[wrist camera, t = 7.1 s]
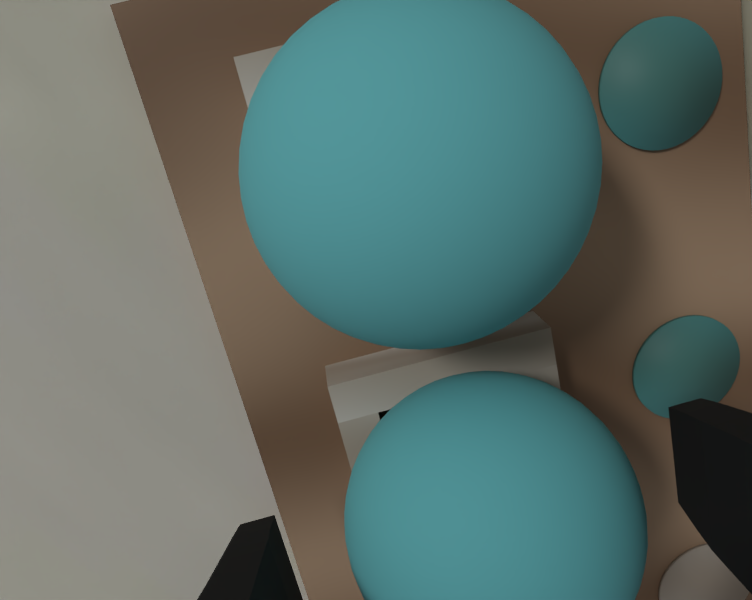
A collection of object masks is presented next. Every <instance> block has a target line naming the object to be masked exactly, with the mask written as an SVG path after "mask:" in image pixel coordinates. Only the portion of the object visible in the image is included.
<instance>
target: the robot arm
mask: <svg viewBox="0 0 752 600" xmlns="http://www.w3.org/2000/svg"><path fill="white" fill-rule="evenodd" d="M668 409H669V419H670V428H671V438H672V448H673V457H674V467H675V477H676V486H677V496H678V503H679V504H680V506H681V507H682V509H683V510H684V512H685V513H686V515H687V516H688V518H689V519H690V521H691V522H692V524H693V525H694V526H695V528H696V529H697V531H698V532H699V533H700V535H701V536H702V538H703V539H704V540H705V542H706V543H707V544H708V546H709V547H710V548H711V550H712V551H713V552H714V553H715V554H716V556H717V557H718V558H719V559H720V560H721V561H722V562H723V563H724V565H725V566H726V567H727V568H728V569H729V570H730V571H731V572H732V573H733V574H734V576H735V577H736V578H737V579H738V580H739V581H740V582H741V583H742V584H743V585H744V587H745V588H746V589H747V590H748V591H749V592H750V593H751V594H752V413H750V412H747V411H744V410H741V409H737V408H734V407H731V406H728V405H725V404H721V403H718V402H714V401H710V400H706V399H702V398H700V399H696V400H692V401H689V402H685V403H681V404H678V405H674V406H671V407H668ZM197 600H303V599H302V596H301V593H300V590H299V587H298V584H297V581H296V578H295V575H294V572H293V569H292V566H291V563H290V560H289V557H288V554H287V551H286V548H285V546H284V543H283V540H282V537H281V534H280V531H279V528H278V525H277V522H276V519H275V516H274V515H273V516H270V517H266V518H263V519H259V520H255V521H252V522H248V523H244V524H241V525H240V526H239V527H238V529H237V531H236V532H235V534H234V536H233V537H232V539H231V541H230V543H229V545H228V546H227V548H226V550H225V552H224V554H223V556H222V557H221V559H220V561H219V563H218V565H217V566H216V568H215V570H214V572H213V574H212V575H211V577H210V579H209V581H208V582H207V584H206V586H205V588H204V589H203V591H202V593H201V594H200V596H199V598H198V599H197Z"/></svg>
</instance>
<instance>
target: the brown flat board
mask: <svg viewBox="0 0 752 600" xmlns="http://www.w3.org/2000/svg"><path fill="white" fill-rule="evenodd" d="M337 1H339V0H129V1H125V2H120V3H116V4H112V5H110V6H111V9H112V12H113V15H114V18H115V21H116V24H117V27H118V30H119V33H120V36H121V39H122V42H123V45H124V48H125V51H126V54H127V57H128V60H129V63H130V66H131V69H132V72H133V75H134V78H135V81H136V84H137V87H138V90H139V93H140V96H141V99H142V102H143V105H144V108H145V111H146V114H147V117H148V120H149V123H150V126H151V129H152V132H153V134H154V137H155V140H156V143H157V146H158V149H159V152H160V155H161V158H162V161H163V164H164V167H165V170H166V173H167V176H168V179H169V182H170V185H171V188H172V191H173V194H174V197H175V200H176V203H177V206H178V209H179V212H180V215H181V218H182V221H183V224H184V227H185V230H186V233H187V236H188V239H189V242H190V245H191V248H192V251H193V254H194V257H195V260H196V263H197V266H198V269H199V272H200V275H201V278H202V281H203V284H204V287H205V290H206V293H207V296H208V299H209V302H210V305H211V308H212V311H213V314H214V317H215V320H216V323H217V326H218V329H219V332H220V335H221V338H222V341H223V344H224V347H225V350H226V353H227V356H228V359H229V362H230V365H231V368H232V371H233V374H234V377H235V380H236V383H237V386H238V389H239V392H240V395H241V398H242V401H243V404H244V407H245V410H246V413H247V416H248V419H249V422H250V425H251V428H252V431H253V434H254V437H255V440H256V443H257V446H258V449H259V452H260V455H261V458H262V461H263V464H264V467H265V470H266V473H267V476H268V479H269V482H270V485H271V488H272V491H273V494H274V497H275V500H276V503H277V506H278V509H279V512H280V514H281V517H282V520H283V523H284V526H285V529H286V532H287V535H288V538H289V541H290V544H291V547H292V550H293V553H294V556H295V559H296V562H297V565H298V568H299V571H300V574H301V577H302V580H303V583H304V586H305V589H306V592H307V595H308V598H309V600H364V598H363V596H362V594H361V591H360V589H359V587H358V585H357V582H356V579H355V577H354V574H353V572H352V569H351V564H350V560H349V555H348V551H347V546H346V542H345V526H344V510H345V500H346V493H347V489H348V484H349V480H350V476H351V472H352V469H353V466H354V464H355V461H356V459H357V456H358V454H359V452H360V450H361V448H362V446H363V445H364V443H365V441H366V439H367V438H368V436H369V434H370V433H371V431H372V430H373V429H374V427H375V426H376V425H377V423H378V422H379V421H380V420H381V419H382V418H383V417H384V416H385V415H386V413H387V412H388V411H389V410H390V409H391V408H393V407H394V406H395V405H396V404H398V403H399V402H400V401H401V400H403V399H404V398H405V397H406V396H408V395H410V394H411V393H413V392H414V391H416V390H418V389H419V388H421V387H423V386H425V385H427V384H429V383H432V382H434V381H436V380H439V379H442V378H445V377H448V376H452V375H457V374H462V373H467V372H476V371H503V372H509V373H515V374H520V375H524V376H528V377H531V378H534V379H538V380H541V381H544V382H546V383H548V384H550V385H552V386H554V387H556V388H558V389H560V390H562V391H564V392H566V393H567V394H569V395H570V396H572V397H573V398H575V399H576V400H578V401H579V402H581V403H582V404H583V405H584V406H585V407H587V408H588V409H589V410H590V411H591V412H592V413H593V414H594V415H595V416H597V417H598V418H599V419H600V420H601V421H602V422H603V423H604V424H605V426H606V427H607V428H608V429H609V431H610V432H611V433H612V434H613V436H614V437H615V438H616V440H617V441H618V442H619V444H620V445H621V447H622V449H623V450H624V452H625V454H626V456H627V457H628V459H629V461H630V463H631V465H632V467H633V469H634V472H635V474H636V477H637V480H638V482H639V485H640V488H641V492H642V496H643V500H644V505H645V510H646V515H647V534H648V548H647V558H646V564H645V569H644V574H643V578H642V582H641V586H640V588H639V591H638V593H637V596H636V598H635V600H752V594H751V593H750V592H749V591H748V590H747V589H746V588H745V587H744V585H743V584H742V583H741V582H740V581H739V580H738V579H737V578H736V577H735V576H734V574H733V573H732V572H731V571H730V570H729V569H728V568H727V567H726V566H725V565H724V563H723V562H722V561H721V560H720V559H719V558H718V557H717V556H716V554H715V553H714V552H713V551H712V550H711V548H710V547H709V546H708V544H707V543H706V542H705V540H704V539H703V538H702V536H701V535H700V533H699V532H698V531H697V529H696V528H695V526H694V525H693V524H692V522H691V521H690V519H689V518H688V516H687V515H686V513H685V512H684V510H683V509H682V507H681V506H680V504H679V503H678V496H677V486H676V477H675V467H674V457H673V448H672V438H671V428H670V419H669V409H668V407H671V406H674V405H678V404H681V403H685V402H689V401H692V400H696V399H700V398H702V399H706V400H710V401H714V402H718V403H721V404H725V405H728V406H731V407H734V408H737V409H741V410H744V411H747V412H750V413H752V208H751V189H750V169H749V150H748V130H747V111H746V91H745V72H744V52H743V33H742V13H741V0H506V1H508V2H510V3H512V4H513V5H515V6H516V7H518V8H519V9H521V10H523V11H524V12H526V13H527V14H529V15H530V16H531V17H532V18H534V19H535V20H536V21H537V22H538V23H539V24H541V25H542V26H543V27H544V28H545V29H546V30H547V31H548V32H549V33H550V34H551V35H552V36H553V37H554V38H555V40H556V41H557V42H558V43H559V44H560V45H561V46H562V48H563V49H564V50H565V52H566V53H567V55H568V56H569V58H570V59H571V61H572V62H573V64H574V65H575V67H576V68H577V70H578V72H579V73H580V75H581V77H582V79H583V82H584V84H585V86H586V88H587V90H588V92H589V94H590V97H591V100H592V103H593V106H594V109H595V112H596V116H597V120H598V126H599V131H600V136H601V148H602V175H601V187H600V192H599V197H598V202H597V208H596V211H595V214H594V217H593V220H592V224H591V227H590V230H589V232H588V235H587V237H586V239H585V241H584V243H583V246H582V248H581V250H580V252H579V254H578V255H577V257H576V258H575V260H574V262H573V263H572V265H571V267H570V268H569V270H568V271H567V272H566V274H565V275H564V276H563V278H562V279H561V280H560V281H559V283H558V284H557V285H556V287H555V288H554V289H553V290H552V291H551V292H550V293H549V294H548V295H547V296H546V297H545V298H544V299H543V300H542V301H541V302H540V303H538V304H537V305H536V306H535V307H533V308H532V309H531V310H530V311H528V312H527V313H526V314H525V315H523V316H522V317H520V318H519V319H517V320H515V321H514V322H512V323H511V324H509V325H507V326H506V327H504V328H502V329H500V330H498V331H496V332H494V333H492V334H489V335H487V336H485V337H483V338H480V339H477V340H474V341H471V342H468V343H464V344H460V345H455V346H450V347H445V348H437V349H424V350H417V349H399V348H393V347H387V346H382V345H377V344H373V343H370V342H367V341H363V340H360V339H357V338H354V337H351V336H349V335H347V334H345V333H343V332H340V331H338V330H336V329H334V328H332V327H330V326H329V325H327V324H326V323H324V322H322V321H321V320H319V319H318V318H316V317H314V316H313V315H312V314H311V313H310V312H308V311H307V310H306V309H305V308H303V307H302V306H301V305H300V304H299V303H297V302H296V300H295V299H294V298H293V297H292V296H291V295H290V294H289V293H288V292H287V291H286V290H285V289H284V288H283V287H282V286H281V284H280V283H279V282H278V281H277V279H276V278H275V276H274V275H273V274H272V272H271V271H270V269H269V268H268V267H267V265H266V264H265V262H264V260H263V258H262V256H261V255H260V253H259V251H258V249H257V247H256V245H255V243H254V241H253V238H252V235H251V233H250V230H249V227H248V225H247V222H246V218H245V214H244V209H243V205H242V201H241V194H240V184H239V148H240V141H241V136H242V130H243V124H244V120H245V117H246V113H247V110H248V107H249V104H250V100H251V98H252V96H253V93H254V91H255V89H256V87H257V85H258V83H259V80H260V78H261V76H262V75H263V73H264V71H265V70H266V68H267V67H268V65H269V64H270V62H271V60H272V59H273V57H274V56H275V54H276V53H277V52H278V51H279V50H280V48H281V47H282V46H283V45H284V44H285V43H286V41H287V40H288V39H289V38H290V37H291V36H292V35H293V34H294V33H295V32H296V31H297V30H298V29H299V28H300V27H302V26H303V25H304V24H305V23H306V22H307V21H308V20H309V19H311V18H312V17H314V16H315V15H317V14H318V13H320V12H321V11H323V10H324V9H325V8H327V7H328V6H330V5H331V4H333V3H335V2H337Z"/></svg>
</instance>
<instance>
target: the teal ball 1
mask: <svg viewBox="0 0 752 600" xmlns="http://www.w3.org/2000/svg"><path fill="white" fill-rule="evenodd" d="M601 175H602V148H601V136H600V131H599V126H598V120H597V116H596V112H595V109H594V106H593V103H592V100H591V97H590V94H589V92H588V90H587V88H586V86H585V84H584V82H583V79H582V77H581V75H580V73H579V72H578V70H577V68H576V67H575V65H574V64H573V62H572V61H571V59H570V58H569V56H568V55H567V53H566V52H565V50H564V49H563V48H562V46H561V45H560V44H559V43H558V42H557V41H556V40H555V38H554V37H553V36H552V35H551V34H550V33H549V32H548V31H547V30H546V29H545V28H544V27H543V26H542V25H541V24H539V23H538V22H537V21H536V20H535V19H534V18H532V17H531V16H530V15H529V14H527V13H526V12H524V11H523V10H521V9H519V8H518V7H516V6H515V5H513V4H512V3H510V2H508V1H506V0H339V1H337V2H335V3H333V4H331V5H330V6H328V7H327V8H325V9H324V10H323V11H321V12H320V13H318V14H317V15H315V16H314V17H312V18H311V19H309V20H308V21H307V22H306V23H305V24H304V25H303V26H302V27H300V28H299V29H298V30H297V31H296V32H295V33H294V34H293V35H292V36H291V37H290V38H289V39H288V40H287V41H286V43H285V44H284V45H283V46H282V47H281V48H280V50H279V51H278V52H277V53H276V54H275V56H274V57H273V59H272V60H271V62H270V64H269V65H268V67H267V68H266V70H265V71H264V73H263V75H262V76H261V78H260V80H259V83H258V85H257V87H256V89H255V91H254V93H253V96H252V98H251V100H250V104H249V107H248V110H247V113H246V117H245V120H244V124H243V130H242V136H241V141H240V148H239V184H240V194H241V201H242V205H243V209H244V214H245V218H246V222H247V225H248V227H249V230H250V233H251V235H252V238H253V241H254V243H255V245H256V247H257V249H258V251H259V253H260V255H261V256H262V258H263V260H264V262H265V264H266V265H267V267H268V268H269V269H270V271H271V272H272V274H273V275H274V276H275V278H276V279H277V281H278V282H279V283H280V284H281V286H282V287H283V288H284V289H285V290H286V291H287V292H288V293H289V294H290V295H291V296H292V297H293V298H294V299H295V300H296V302H297V303H299V304H300V305H301V306H302V307H303V308H305V309H306V310H307V311H308V312H310V313H311V314H312V315H313V316H314V317H316V318H318V319H319V320H321V321H322V322H324V323H326V324H327V325H329V326H330V327H332V328H334V329H336V330H338V331H340V332H343V333H345V334H347V335H349V336H351V337H354V338H357V339H360V340H363V341H367V342H370V343H373V344H377V345H382V346H387V347H393V348H399V349H417V350H424V349H437V348H445V347H450V346H455V345H460V344H464V343H468V342H471V341H474V340H477V339H480V338H483V337H485V336H487V335H489V334H492V333H494V332H496V331H498V330H500V329H502V328H504V327H506V326H507V325H509V324H511V323H512V322H514V321H515V320H517V319H519V318H520V317H522V316H523V315H525V314H526V313H527V312H528V311H530V310H531V309H532V308H533V307H535V306H536V305H537V304H538V303H540V302H541V301H542V300H543V299H544V298H545V297H546V296H547V295H548V294H549V293H550V292H551V291H552V290H553V289H554V288H555V287H556V285H557V284H558V283H559V281H560V280H561V279H562V278H563V276H564V275H565V274H566V272H567V271H568V270H569V268H570V267H571V265H572V263H573V262H574V260H575V258H576V257H577V255H578V254H579V252H580V250H581V248H582V246H583V243H584V241H585V239H586V237H587V235H588V232H589V230H590V227H591V224H592V220H593V217H594V214H595V211H596V208H597V202H598V197H599V192H600V187H601Z"/></svg>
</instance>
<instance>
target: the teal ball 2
mask: <svg viewBox="0 0 752 600" xmlns="http://www.w3.org/2000/svg"><path fill="white" fill-rule="evenodd" d="M344 526H345V542H346V546H347V551H348V555H349V560H350V564H351V569H352V572H353V574H354V577H355V579H356V582H357V585H358V587H359V589H360V591H361V594H362V596H363V598H364V600H635V598H636V596H637V593H638V591H639V588H640V586H641V582H642V578H643V574H644V569H645V564H646V558H647V548H648V534H647V515H646V510H645V505H644V500H643V496H642V492H641V488H640V485H639V482H638V480H637V477H636V474H635V472H634V469H633V467H632V465H631V463H630V461H629V459H628V457H627V456H626V454H625V452H624V450H623V449H622V447H621V445H620V444H619V442H618V441H617V440H616V438H615V437H614V436H613V434H612V433H611V432H610V431H609V429H608V428H607V427H606V426H605V424H604V423H603V422H602V421H601V420H600V419H599V418H598V417H597V416H595V415H594V414H593V413H592V412H591V411H590V410H589V409H588V408H587V407H585V406H584V405H583V404H582V403H581V402H579V401H578V400H576V399H575V398H573V397H572V396H570V395H569V394H567V393H566V392H564V391H562V390H560V389H558V388H556V387H554V386H552V385H550V384H548V383H546V382H544V381H541V380H538V379H534V378H531V377H528V376H524V375H520V374H515V373H509V372H503V371H476V372H467V373H462V374H457V375H452V376H448V377H445V378H442V379H439V380H436V381H434V382H432V383H429V384H427V385H425V386H423V387H421V388H419V389H418V390H416V391H414V392H413V393H411V394H410V395H408V396H406V397H405V398H404V399H403V400H401V401H400V402H399V403H398V404H396V405H395V406H394V407H393V408H391V409H390V410H389V411H388V412H387V413H386V415H385V416H384V417H383V418H382V419H381V420H380V421H379V422H378V423H377V425H376V426H375V427H374V429H373V430H372V431H371V433H370V434H369V436H368V438H367V439H366V441H365V443H364V445H363V446H362V448H361V450H360V452H359V454H358V456H357V459H356V461H355V464H354V466H353V469H352V472H351V476H350V480H349V484H348V489H347V493H346V500H345V510H344Z"/></svg>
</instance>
